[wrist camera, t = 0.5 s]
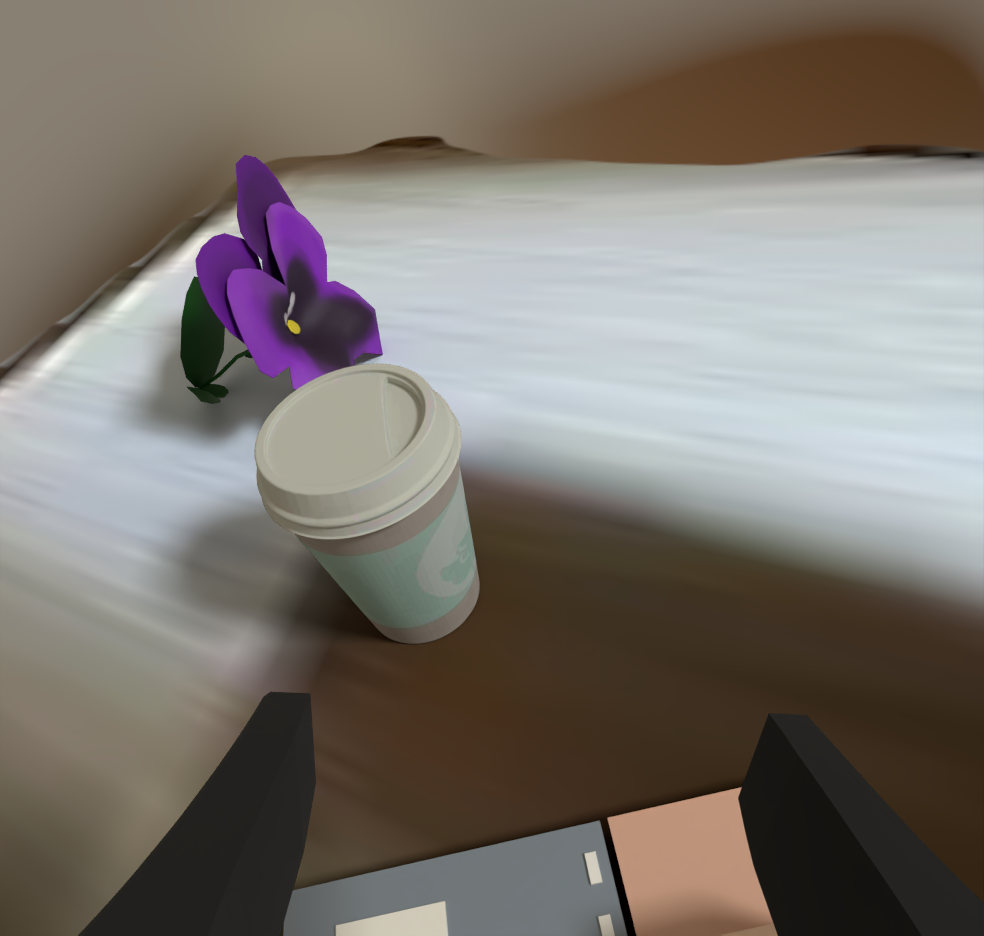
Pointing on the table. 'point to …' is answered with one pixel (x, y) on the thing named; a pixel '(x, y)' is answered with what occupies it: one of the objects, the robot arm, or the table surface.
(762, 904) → the pink panel with block
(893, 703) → the table surface
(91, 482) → the table surface
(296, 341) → the flower
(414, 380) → the coffee cup
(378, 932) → the ticket board
